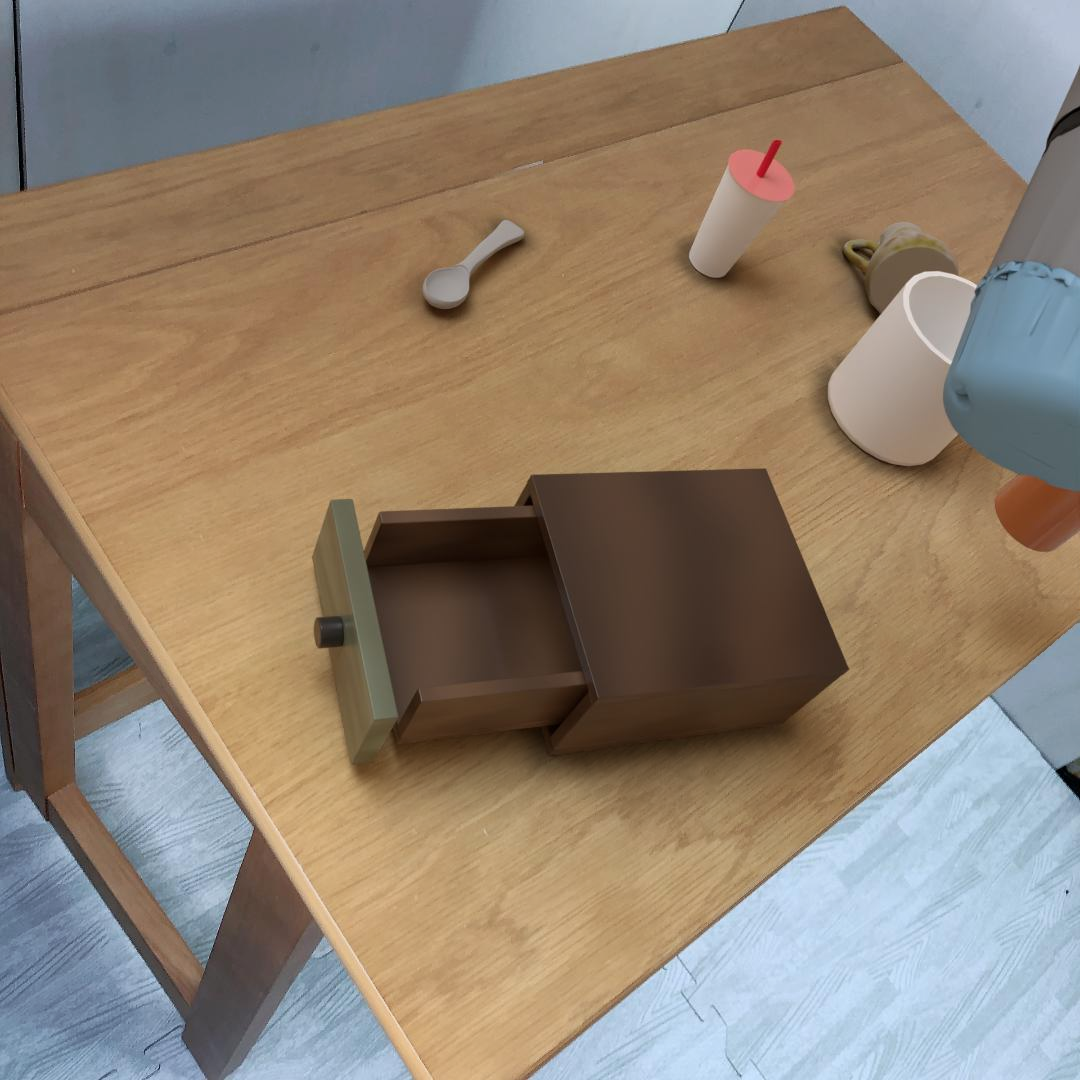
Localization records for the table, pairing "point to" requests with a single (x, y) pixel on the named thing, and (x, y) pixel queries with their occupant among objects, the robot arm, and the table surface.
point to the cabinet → (681, 604)
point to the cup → (740, 209)
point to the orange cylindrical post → (1038, 512)
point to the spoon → (467, 268)
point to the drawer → (442, 625)
